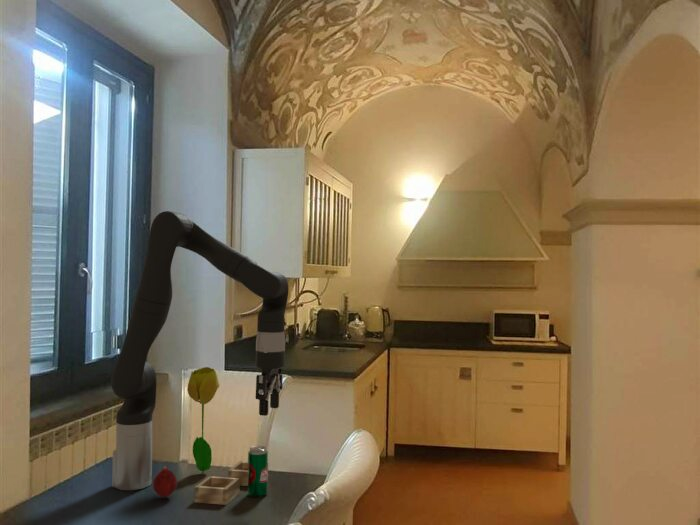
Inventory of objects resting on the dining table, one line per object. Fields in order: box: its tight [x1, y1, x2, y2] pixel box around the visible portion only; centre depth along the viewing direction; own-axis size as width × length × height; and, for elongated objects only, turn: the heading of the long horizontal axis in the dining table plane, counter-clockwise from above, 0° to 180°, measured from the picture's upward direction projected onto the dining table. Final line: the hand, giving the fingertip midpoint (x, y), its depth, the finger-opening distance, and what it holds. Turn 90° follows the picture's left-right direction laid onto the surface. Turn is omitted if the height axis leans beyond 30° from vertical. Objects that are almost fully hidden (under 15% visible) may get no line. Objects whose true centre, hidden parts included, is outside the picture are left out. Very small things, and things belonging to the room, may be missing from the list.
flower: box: [187, 366, 220, 474], centre depth 176 cm, size 9×8×30 cm
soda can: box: [247, 445, 269, 498], centre depth 159 cm, size 5×5×12 cm
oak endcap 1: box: [194, 475, 241, 506], centre depth 157 cm, size 8×8×4 cm
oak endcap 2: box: [227, 460, 248, 487], centre depth 170 cm, size 8×8×4 cm
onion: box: [152, 465, 178, 499], centre depth 156 cm, size 6×6×8 cm
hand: (269, 411), depth 159 cm, fingers open, 8 cm apart
